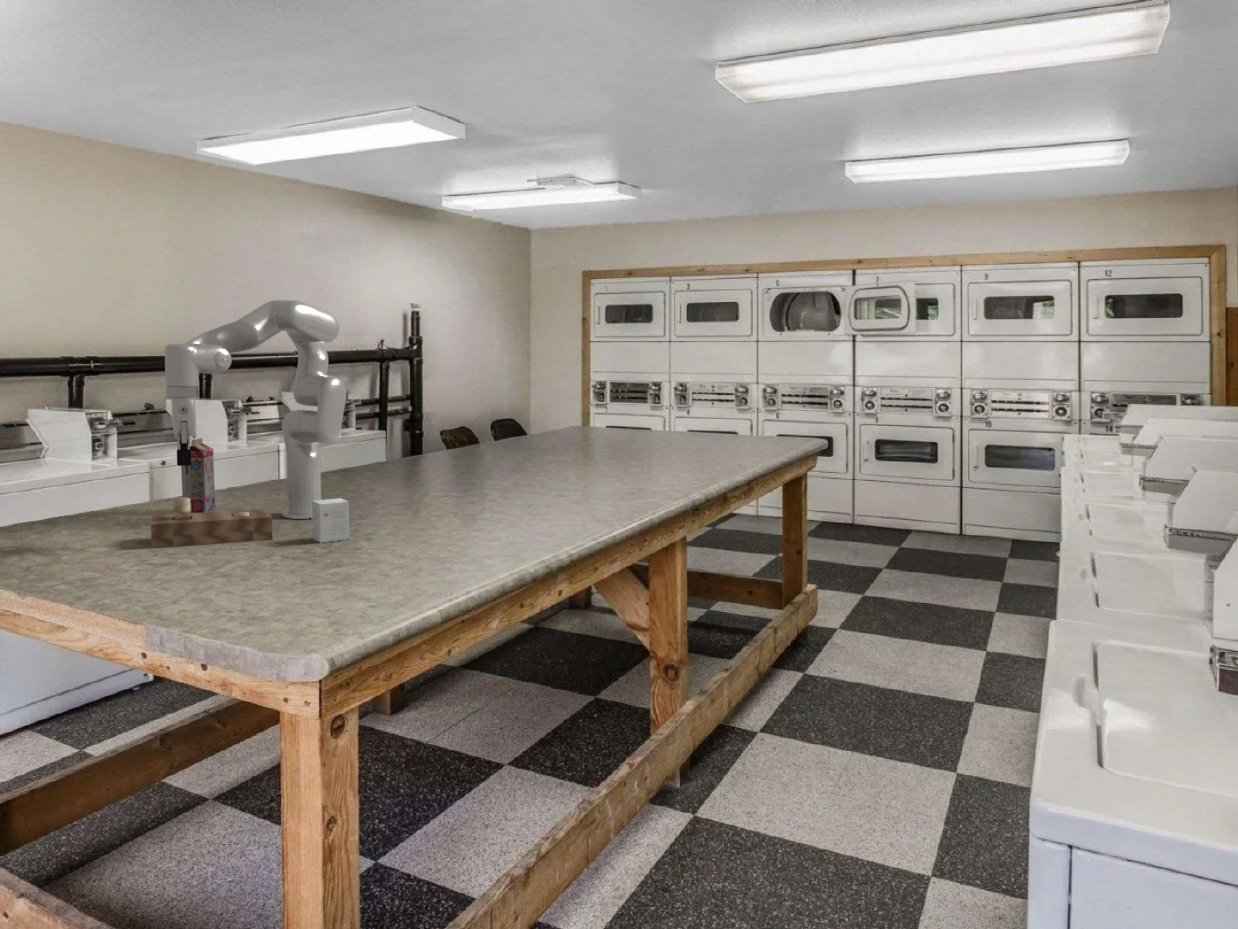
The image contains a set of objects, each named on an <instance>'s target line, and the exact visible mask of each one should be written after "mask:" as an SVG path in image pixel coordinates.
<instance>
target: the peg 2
mask: <svg viewBox="0 0 1238 929" xmlns="http://www.w3.org/2000/svg"><path fill="white" fill-rule="evenodd" d="M239 516H250V515H249V512H236V513H233V517H239Z"/></svg>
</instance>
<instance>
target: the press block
mask: <svg viewBox="0 0 1238 929" xmlns="http://www.w3.org/2000/svg"><path fill="white" fill-rule="evenodd" d="M236 512H249V515H250V516H239V517H233V513H236ZM150 518H151V519H150V520H151V521H150V531H151V532H150V535H151V549H155V548H154V547H162V548H168V547H167V546H176V547H186V546H187V547H188V546H201V544H204V545H214V544H215V543H218V544H227V543H226V542H232V543H237V542H236V541H246V542H255V541H254V540H260V541H270V540H272V541H273V537H274V536H273V517H272V515H271V512H270V511H269V510H268V508H263V509H247V510H246V509H245V510H244V509H243V510H228V511H227V510H226V511H223V510H222V511H212V512H206V513H191V519H188V520H173V513H171V514H157V515H156V514H155V515H154V514H152V515H151V517H150ZM215 545H216V544H215Z"/></svg>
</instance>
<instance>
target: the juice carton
mask: <svg viewBox="0 0 1238 929" xmlns="http://www.w3.org/2000/svg"><path fill="white" fill-rule="evenodd" d="M190 449H191V465H190V466H180V470H181V471H180V472H181V492H182V494H181V495H182V497H181V498H190V510H191V513H205V511H206V512H210V511H212V510H214V509H215V510H216V494H215V492H216V490H215V489H216V488H215V486H216V485H215V464H214V462H215V461H214V458H215V457H214V449H213V448H212V447H210V446H208V445H207V444H205V443H203V438H202V437H201V438H195V439H193V440H191V442H190ZM215 510H214V511H215ZM212 512H213V511H212Z"/></svg>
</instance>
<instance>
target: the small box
mask: <svg viewBox="0 0 1238 929" xmlns="http://www.w3.org/2000/svg"><path fill="white" fill-rule="evenodd" d="M349 503H350V502H349V501H348V500H346V499H343V498H341V497H340V498H339V497H338V498H329V499H328V498H327V499H322V500H316V501H312V518H311V520H312V539H313V540H314V541H316V540H317V541H318V542H317V541H316V542H317V543H319V542H320V544H323V543H322V542H326V543H331V542H330V541H334V542H338V541H337V540H342V541H348V540H347V539H349V540H350V514H349V513H350V510H349V507H350V506H349Z"/></svg>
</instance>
